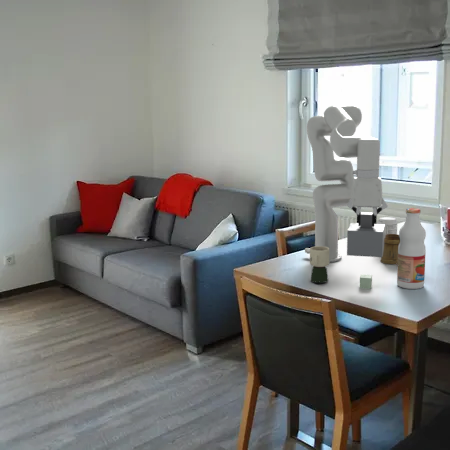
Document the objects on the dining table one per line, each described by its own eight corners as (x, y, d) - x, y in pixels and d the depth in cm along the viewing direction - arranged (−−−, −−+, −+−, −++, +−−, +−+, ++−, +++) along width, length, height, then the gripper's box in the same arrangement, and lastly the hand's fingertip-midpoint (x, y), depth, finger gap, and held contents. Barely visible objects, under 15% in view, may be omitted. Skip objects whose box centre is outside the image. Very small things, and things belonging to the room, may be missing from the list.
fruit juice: (398, 280, 224) (400, 206, 218) (425, 282, 220) (428, 207, 215) (395, 288, 215) (397, 211, 210) (423, 290, 212) (426, 212, 206)
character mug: (314, 277, 231) (314, 244, 229) (332, 278, 228) (332, 245, 226) (305, 285, 222) (305, 251, 219) (324, 287, 219) (325, 252, 216)
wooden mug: (411, 267, 241) (413, 222, 237) (378, 263, 247) (379, 220, 244) (416, 261, 248) (418, 218, 245) (383, 258, 255) (385, 216, 251)
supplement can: (375, 253, 262) (376, 219, 259) (378, 249, 269) (379, 216, 266) (395, 255, 259) (396, 220, 256) (397, 250, 266) (398, 217, 263)
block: (359, 288, 217) (359, 277, 216) (360, 284, 221) (360, 274, 220) (370, 289, 216) (371, 278, 215) (371, 285, 219) (372, 275, 219)
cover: (346, 255, 212) (347, 216, 209) (350, 246, 223) (351, 209, 220) (382, 257, 209) (383, 217, 205) (384, 248, 220) (385, 210, 217)
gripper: (342, 175, 209) (341, 226, 213) (392, 176, 204) (390, 228, 208) (344, 172, 216) (343, 222, 220) (393, 172, 211) (391, 224, 215)
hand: (366, 224), depth 214 cm, fingers closed on cover, 4 cm apart
